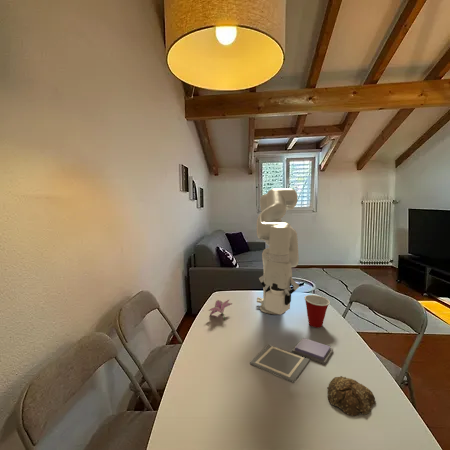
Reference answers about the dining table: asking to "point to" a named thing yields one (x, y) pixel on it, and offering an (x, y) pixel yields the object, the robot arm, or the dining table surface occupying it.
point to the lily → (219, 307)
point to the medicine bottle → (276, 300)
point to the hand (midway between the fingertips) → (277, 301)
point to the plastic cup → (316, 309)
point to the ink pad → (313, 350)
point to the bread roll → (350, 396)
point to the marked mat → (280, 362)
